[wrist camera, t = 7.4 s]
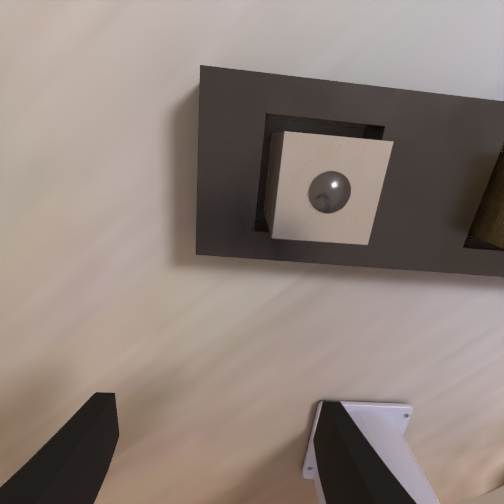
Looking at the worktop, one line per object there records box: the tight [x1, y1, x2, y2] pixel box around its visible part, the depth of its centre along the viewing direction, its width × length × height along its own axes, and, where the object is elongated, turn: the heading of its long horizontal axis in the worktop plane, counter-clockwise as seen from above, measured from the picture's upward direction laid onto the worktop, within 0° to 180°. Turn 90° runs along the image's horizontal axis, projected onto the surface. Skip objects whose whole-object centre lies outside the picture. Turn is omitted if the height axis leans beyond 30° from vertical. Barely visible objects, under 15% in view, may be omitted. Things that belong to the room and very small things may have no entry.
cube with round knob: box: [264, 131, 393, 245], centre depth 14 cm, size 4×4×5 cm
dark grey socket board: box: [196, 65, 504, 277], centre depth 16 cm, size 9×24×2 cm, turn 85°
